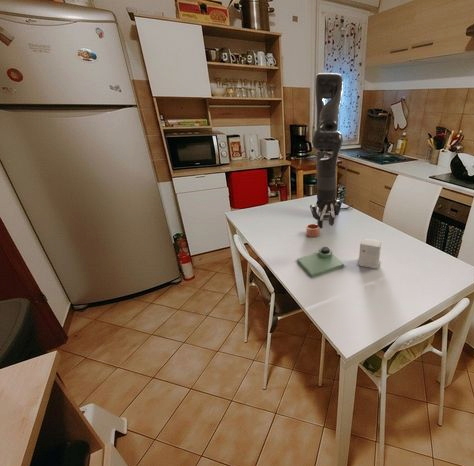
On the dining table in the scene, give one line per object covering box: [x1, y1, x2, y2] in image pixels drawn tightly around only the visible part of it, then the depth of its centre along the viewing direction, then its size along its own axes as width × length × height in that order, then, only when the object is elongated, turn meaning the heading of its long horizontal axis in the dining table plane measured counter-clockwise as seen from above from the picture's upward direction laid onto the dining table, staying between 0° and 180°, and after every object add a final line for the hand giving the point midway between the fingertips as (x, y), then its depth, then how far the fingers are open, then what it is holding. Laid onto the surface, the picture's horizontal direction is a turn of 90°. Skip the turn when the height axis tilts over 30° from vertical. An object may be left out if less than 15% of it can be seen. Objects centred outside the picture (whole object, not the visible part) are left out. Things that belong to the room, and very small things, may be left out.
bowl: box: [305, 223, 320, 238], centre depth 133 cm, size 6×6×4 cm
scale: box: [297, 247, 345, 278], centre depth 110 cm, size 15×13×3 cm
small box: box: [358, 237, 382, 270], centre depth 109 cm, size 8×6×10 cm
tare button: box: [321, 246, 330, 254], centre depth 114 cm, size 3×3×2 cm
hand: (325, 226), depth 109 cm, fingers open, 4 cm apart
